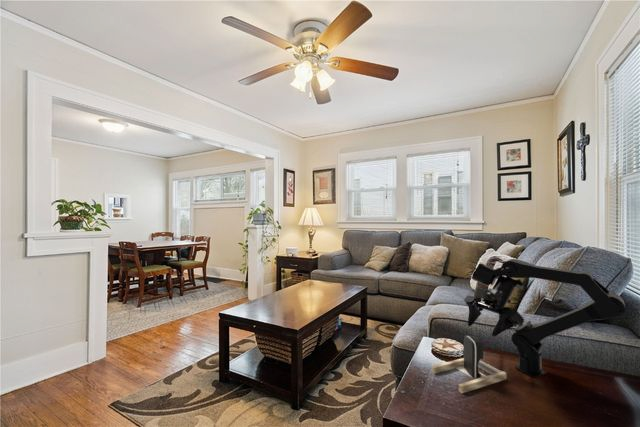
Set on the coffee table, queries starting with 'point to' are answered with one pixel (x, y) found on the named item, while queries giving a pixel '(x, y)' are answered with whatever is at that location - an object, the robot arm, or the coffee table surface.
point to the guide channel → (475, 383)
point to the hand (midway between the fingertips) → (480, 330)
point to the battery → (472, 355)
